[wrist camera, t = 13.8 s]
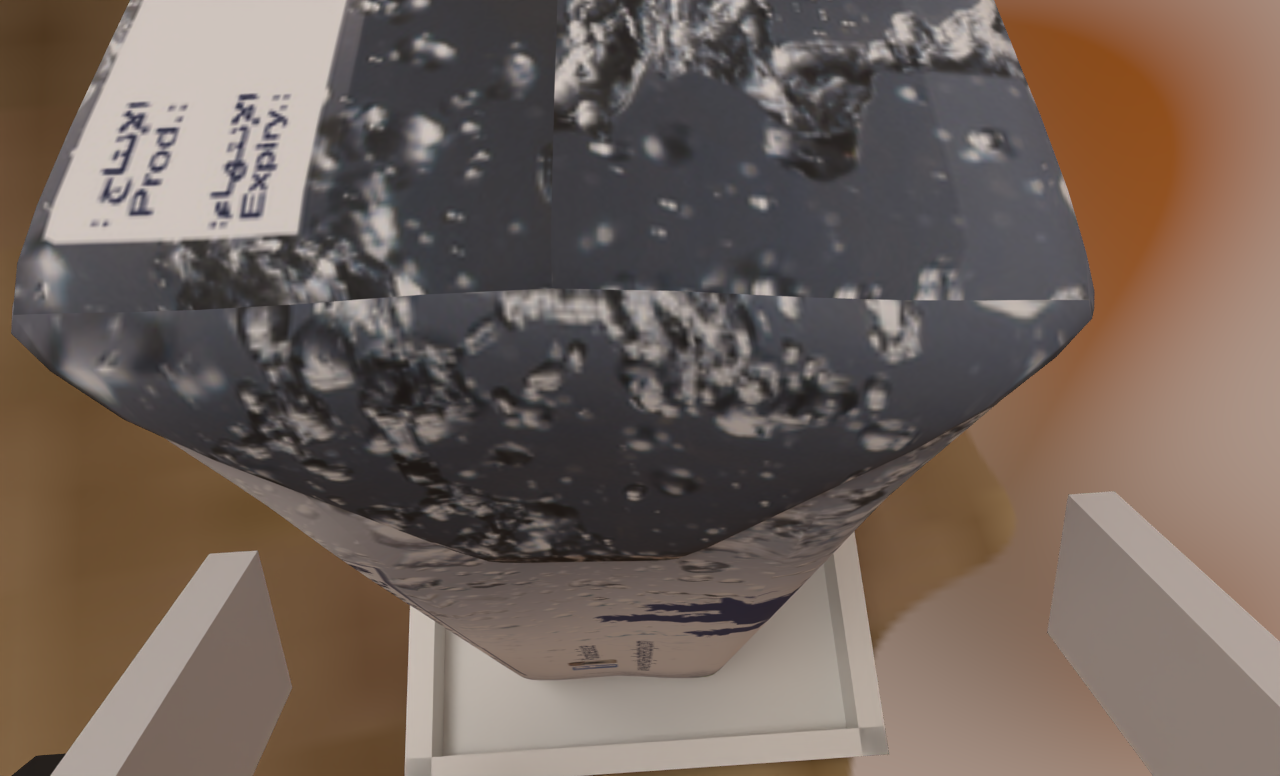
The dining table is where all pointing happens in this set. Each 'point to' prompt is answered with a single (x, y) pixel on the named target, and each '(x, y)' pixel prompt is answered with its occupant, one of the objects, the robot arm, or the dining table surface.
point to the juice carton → (559, 288)
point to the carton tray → (657, 699)
